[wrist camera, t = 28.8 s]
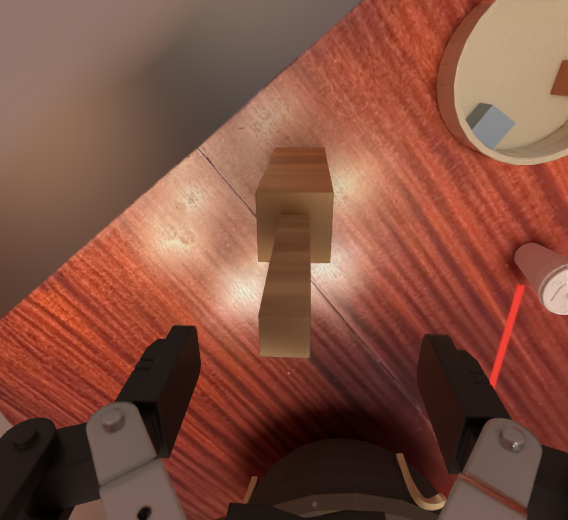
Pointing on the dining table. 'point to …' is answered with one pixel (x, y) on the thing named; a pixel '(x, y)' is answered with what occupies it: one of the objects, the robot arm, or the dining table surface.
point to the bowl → (346, 482)
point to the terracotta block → (561, 80)
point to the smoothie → (545, 275)
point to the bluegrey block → (489, 124)
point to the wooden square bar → (287, 292)
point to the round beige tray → (509, 77)
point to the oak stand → (296, 199)
